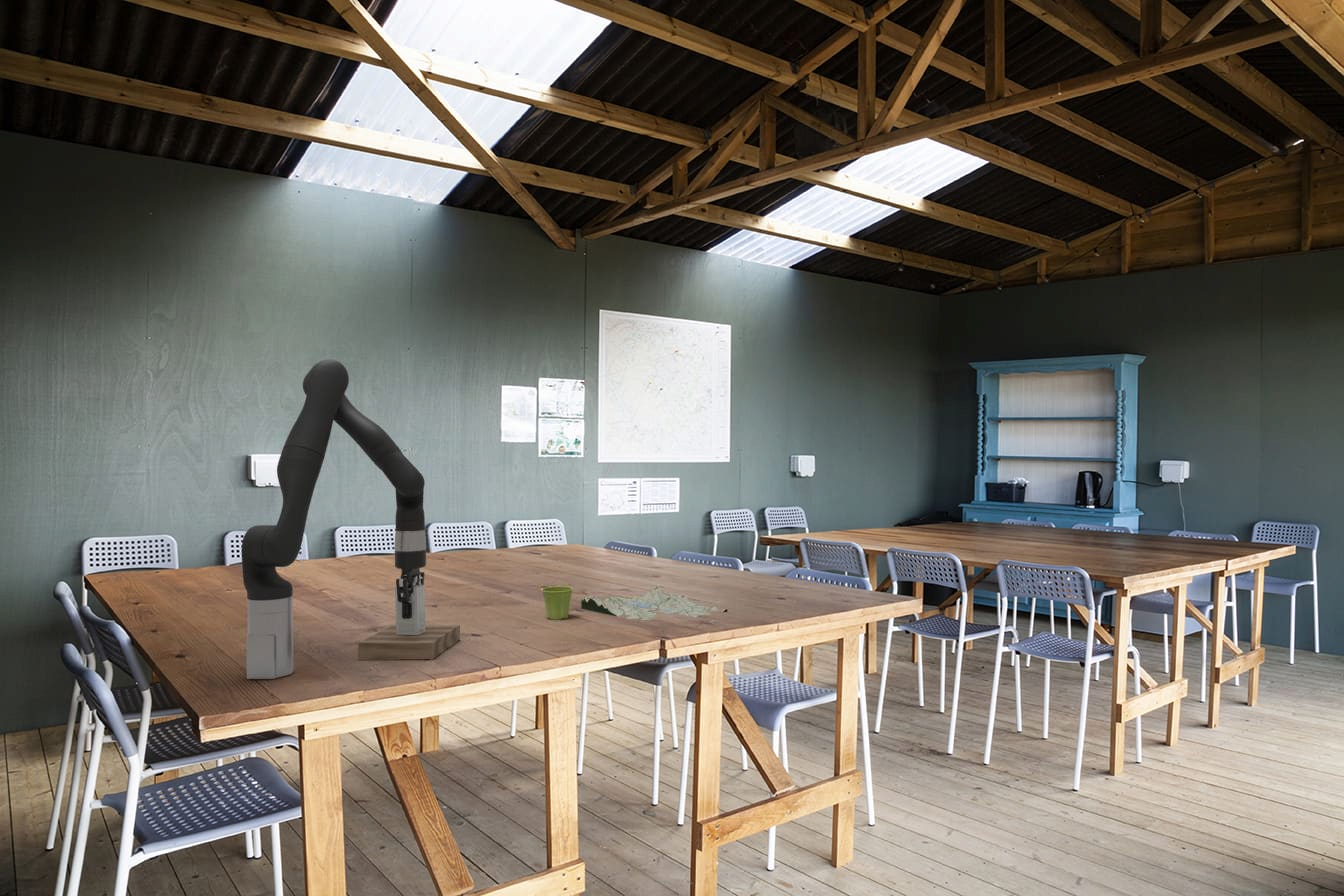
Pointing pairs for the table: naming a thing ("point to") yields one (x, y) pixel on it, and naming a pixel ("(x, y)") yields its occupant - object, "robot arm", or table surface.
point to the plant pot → (557, 601)
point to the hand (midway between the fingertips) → (411, 616)
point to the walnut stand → (408, 643)
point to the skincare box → (418, 614)
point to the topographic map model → (646, 605)
